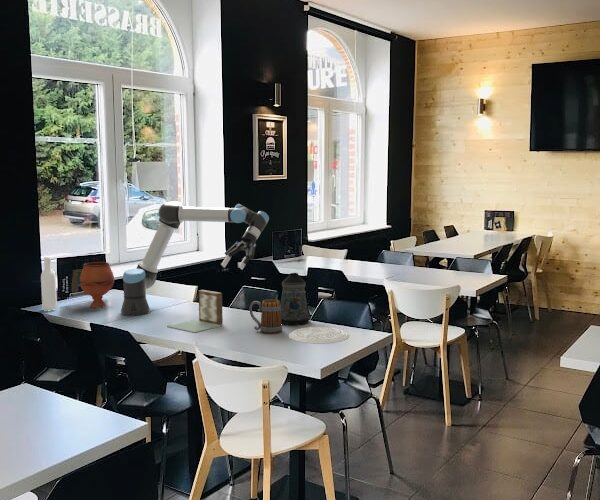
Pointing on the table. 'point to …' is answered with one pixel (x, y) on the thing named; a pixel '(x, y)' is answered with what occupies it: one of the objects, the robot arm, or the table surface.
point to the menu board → (210, 307)
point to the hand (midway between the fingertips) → (231, 267)
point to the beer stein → (294, 301)
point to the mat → (194, 326)
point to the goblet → (96, 281)
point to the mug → (268, 316)
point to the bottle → (48, 286)
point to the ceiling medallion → (318, 335)
